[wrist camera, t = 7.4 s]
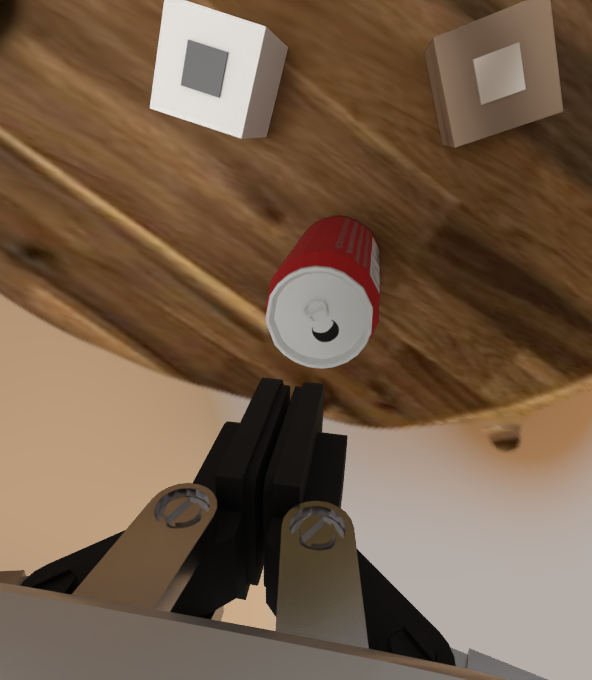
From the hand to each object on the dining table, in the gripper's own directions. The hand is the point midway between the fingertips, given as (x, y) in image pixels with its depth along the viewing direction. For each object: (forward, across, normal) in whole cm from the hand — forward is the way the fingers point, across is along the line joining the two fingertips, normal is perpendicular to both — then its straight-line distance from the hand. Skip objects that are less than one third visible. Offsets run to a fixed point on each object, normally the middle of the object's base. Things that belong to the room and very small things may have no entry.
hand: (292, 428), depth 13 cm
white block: (+21, +7, -10) cm, 24 cm away
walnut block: (+21, -7, -10) cm, 24 cm away
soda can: (+21, 0, +1) cm, 21 cm away
